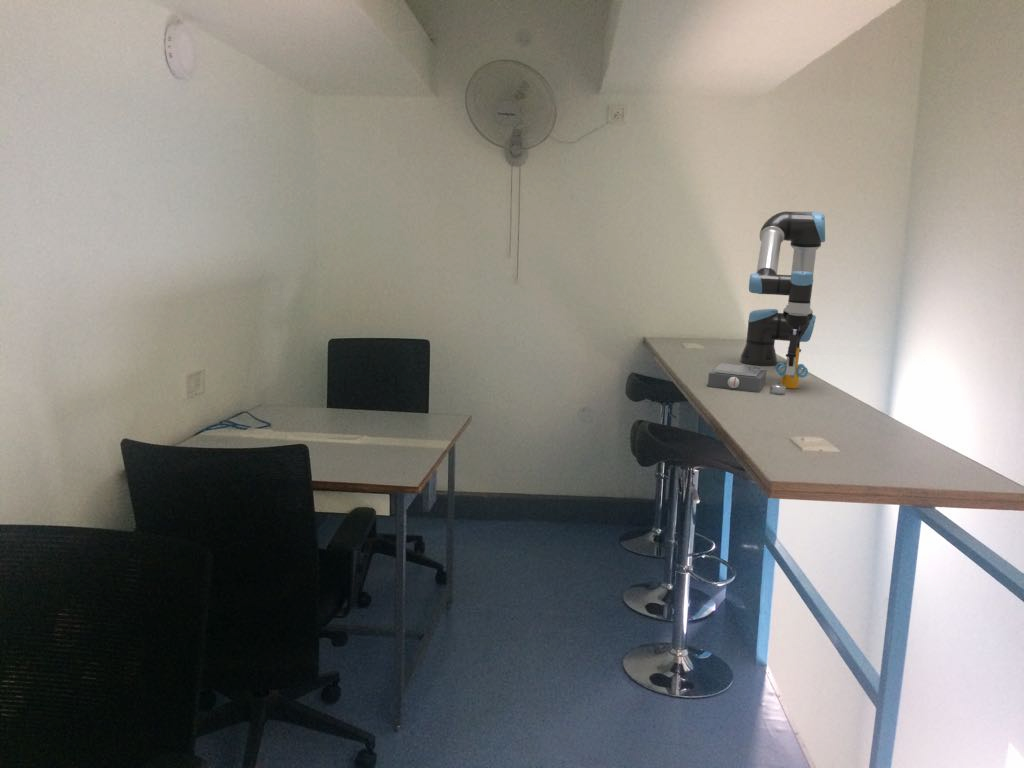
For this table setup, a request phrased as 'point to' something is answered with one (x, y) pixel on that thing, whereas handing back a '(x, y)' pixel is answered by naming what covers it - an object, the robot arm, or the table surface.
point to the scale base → (737, 381)
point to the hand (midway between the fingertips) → (791, 372)
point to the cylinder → (792, 380)
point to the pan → (738, 369)
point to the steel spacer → (777, 389)
